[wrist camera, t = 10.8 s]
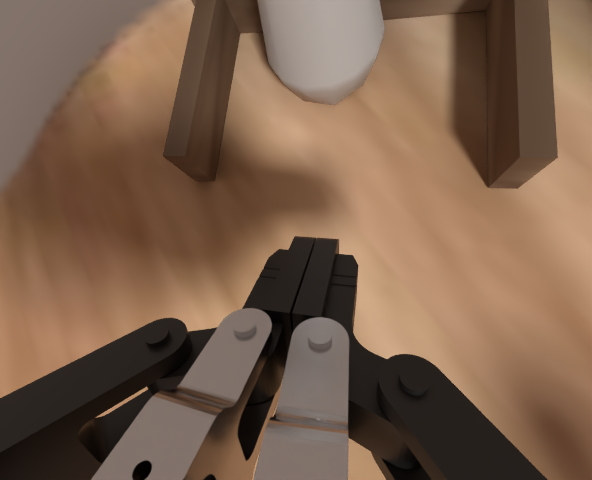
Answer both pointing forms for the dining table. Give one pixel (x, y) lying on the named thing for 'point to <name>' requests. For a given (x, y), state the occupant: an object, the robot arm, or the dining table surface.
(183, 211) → the dining table surface
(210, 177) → the walnut bay
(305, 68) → the salt shaker
